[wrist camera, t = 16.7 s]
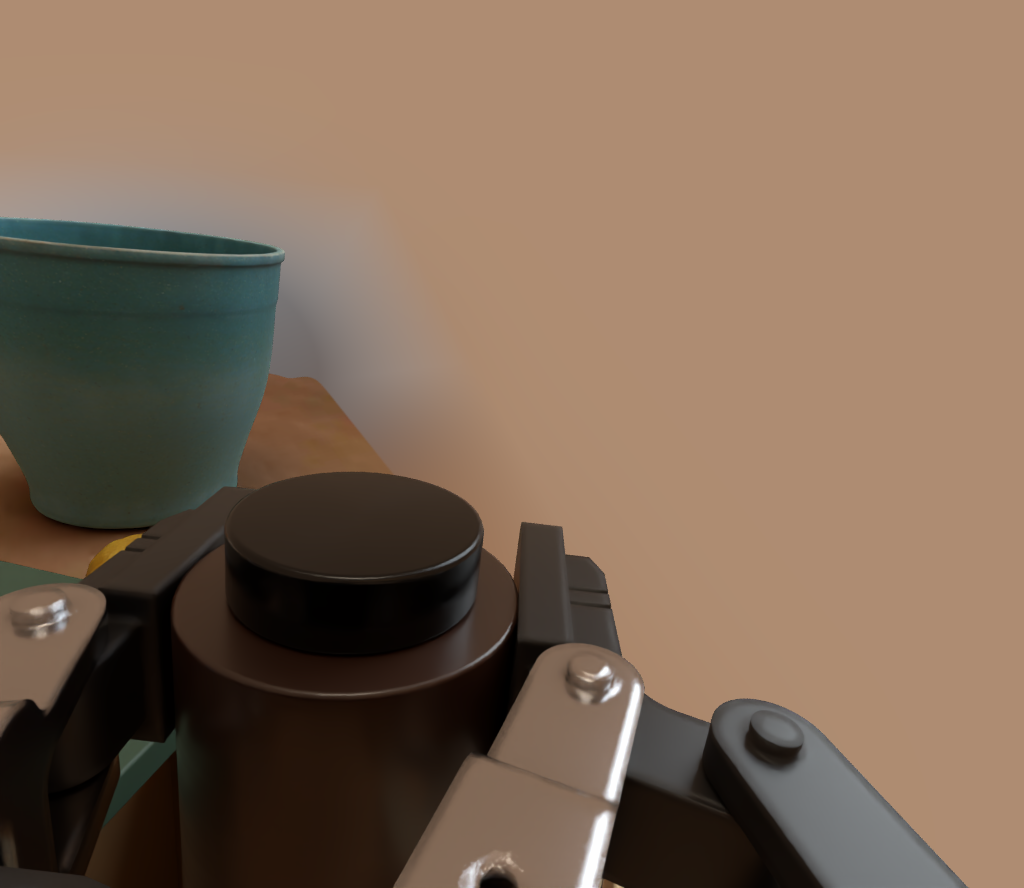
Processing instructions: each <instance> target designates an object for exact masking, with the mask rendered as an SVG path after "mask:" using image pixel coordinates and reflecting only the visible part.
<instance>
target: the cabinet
mask: <svg viewBox="0 0 1024 888" xmlns="http://www.w3.org/2000/svg"><path fill="white" fill-rule="evenodd" d="M81 580H83V579H79V578H74V577H70V576H65V575H61V574H57V573H52V572H48V571H43V570H39V569H34V568H30V567H26V566H21V565H17V564H12V563H8V562H4V561H0V597H1V596H3V595H6V594H8V593H11V592H14V591H17V590H21V589H24V588H28V587H33V586H37V585H44V584H52V583H76V584H77V583H79V582H80V581H81ZM175 751H176V730H175V729H174V730H173V732H172V733H171V734H170V736H169V737H168V739H167V740H166V741H165V743H158V742H150V741H141V740H133V739H130V740H129V741H128V742H127V744H126V745H125V746H124V747H123V749H122V750H121V751H120V752H119V760H120V777H119V781H118V784H117V787H116V789H115V792H114V795H113V798H112V801H111V803H110V806H109V809H108V812H107V815H106V817H105V820H104V823H103V826H102V828H103V827H104V826H105V825H106V824H107V823H108V822H109V821H110V820H111V819H112V818H113V817H114V816H115V815H116V814H117V812H118V811H119V810H120V809H121V808H122V807H123V806H124V805H125V804H126V803H127V802H128V801H129V800H130V799H131V798H132V796H133V795H134V794H135V793H136V792H137V791H138V790H139V789H140V788H141V787H142V786H143V785H144V784H145V783H146V782H147V780H148V779H149V778H150V777H151V776H152V775H153V774H154V773H155V772H156V771H157V770H158V769H159V768H160V767H161V766H162V764H163V763H164V762H165V761H166V760H167V759H168V758H169V757H170V756H171V755H172V754H173V753H174V752H175ZM101 830H102V829H101Z"/></svg>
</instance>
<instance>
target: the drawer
mask: <svg viewBox="0 0 1024 888" xmlns="http://www.w3.org/2000/svg"><path fill="white" fill-rule="evenodd" d="M85 876H87V877H89V878H91V879H93V880H96V881H98V882H100V883H102V884H105V885H107V886H109V887H111V888H183V879H182V857H181V836H180V815H179V794H178V772H177V751H175V752H174V753H173V754H172V755H171V756H170V757H169V758H168V759H167V760H166V761H165V762H164V763H163V764H162V766H161V767H160V768H159V769H158V770H157V771H156V772H155V773H154V774H153V775H152V776H151V777H150V778H149V779H148V780H147V782H146V783H145V784H144V785H143V786H142V787H141V788H140V789H139V790H138V791H137V792H136V793H135V794H134V795H133V796H132V798H131V799H130V800H129V801H128V802H127V803H126V804H125V805H124V806H123V807H122V808H121V809H120V810H119V811H118V812H117V814H116V815H115V816H114V817H113V818H112V819H111V820H110V821H109V822H108V823H107V824H106V825H105V826H104V827H103V828H102V830H101V831H100V834H99V837H98V840H97V843H96V845H95V848H94V851H93V854H92V857H91V859H90V862H89V865H88V868H87V871H86V873H85ZM602 888H624V887H621V886H619V885H617V884H615V883H612V882H610V881H608V880H606V879H604V881H603V886H602Z"/></svg>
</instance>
